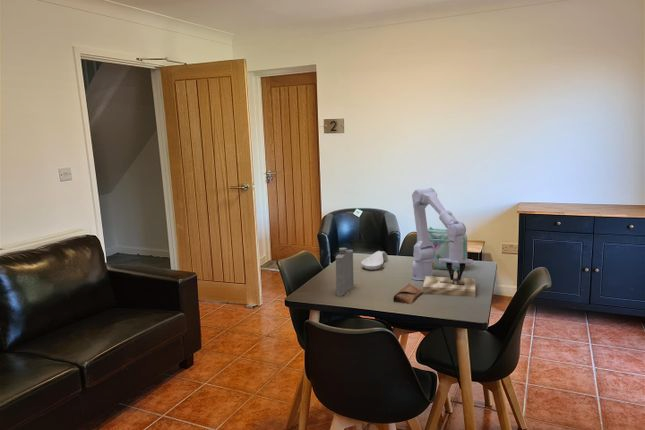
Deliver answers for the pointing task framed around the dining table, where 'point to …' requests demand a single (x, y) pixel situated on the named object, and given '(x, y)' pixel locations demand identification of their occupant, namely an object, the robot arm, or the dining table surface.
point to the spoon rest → (375, 260)
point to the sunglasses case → (407, 295)
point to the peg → (455, 275)
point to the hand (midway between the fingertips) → (455, 279)
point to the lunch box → (443, 247)
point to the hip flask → (344, 271)
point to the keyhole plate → (449, 286)
